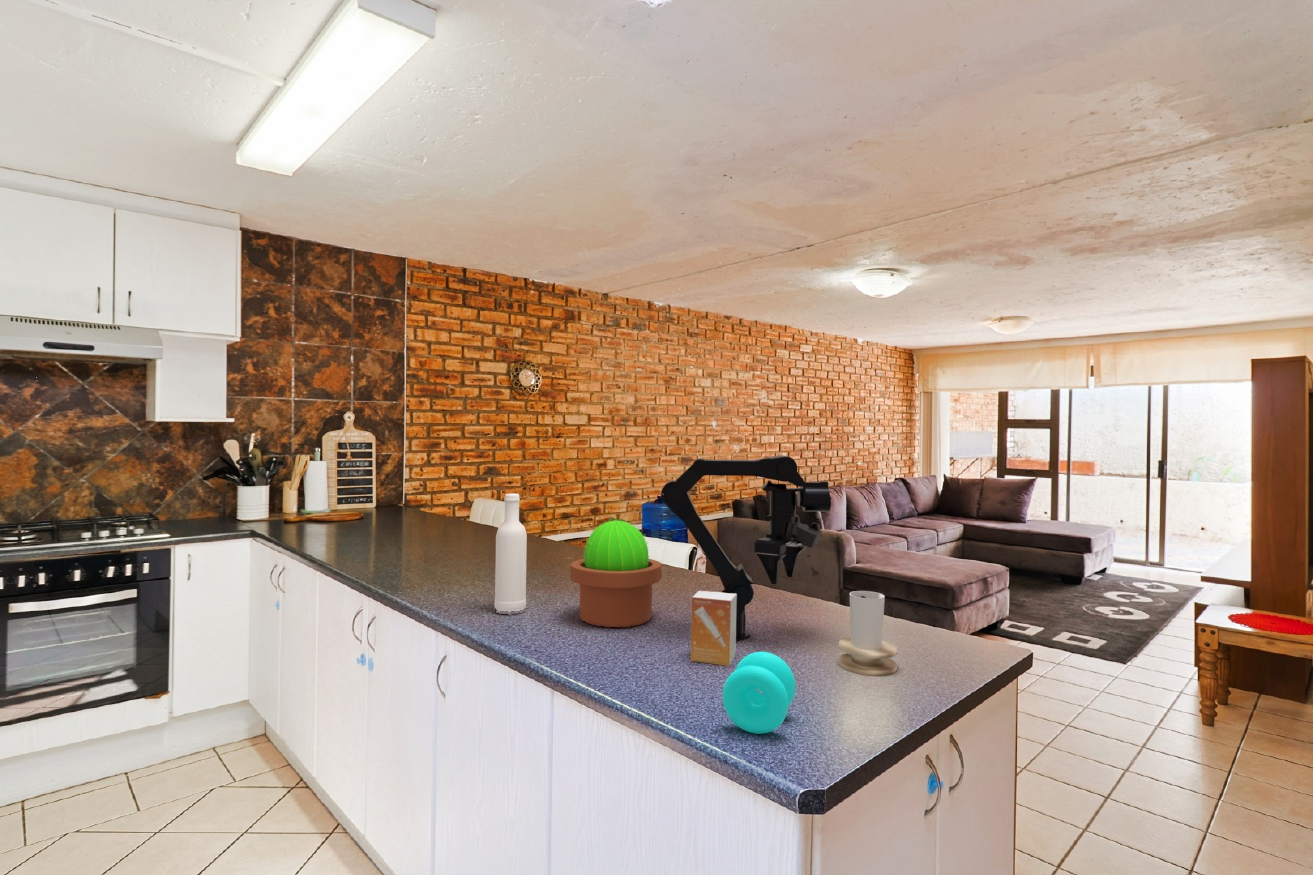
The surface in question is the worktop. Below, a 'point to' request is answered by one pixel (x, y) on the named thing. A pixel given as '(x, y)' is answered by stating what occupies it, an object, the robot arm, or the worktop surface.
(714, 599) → the small box
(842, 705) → the worktop surface
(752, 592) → the robot arm
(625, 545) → the potted cactus
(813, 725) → the worktop surface
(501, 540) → the bottle
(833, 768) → the worktop surface
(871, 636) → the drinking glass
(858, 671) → the birch stand
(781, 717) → the turquoise yoyo
